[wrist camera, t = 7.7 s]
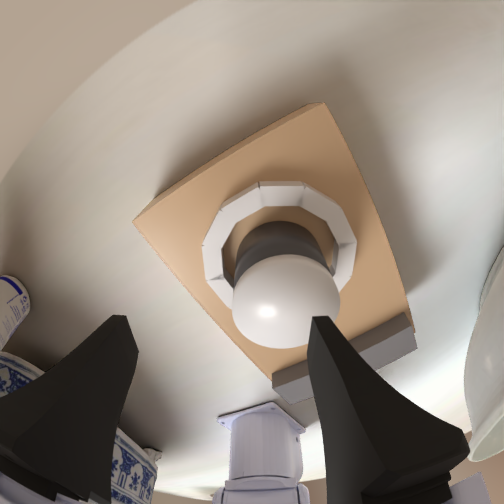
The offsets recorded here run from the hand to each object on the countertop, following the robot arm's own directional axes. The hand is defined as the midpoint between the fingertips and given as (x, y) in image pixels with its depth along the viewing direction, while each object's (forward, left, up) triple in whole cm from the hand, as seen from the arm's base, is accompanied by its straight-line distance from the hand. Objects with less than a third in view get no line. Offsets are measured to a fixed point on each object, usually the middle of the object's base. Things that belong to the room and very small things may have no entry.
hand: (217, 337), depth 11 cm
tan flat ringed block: (-4, -3, -10) cm, 12 cm away
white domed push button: (-2, -2, -6) cm, 7 cm away
